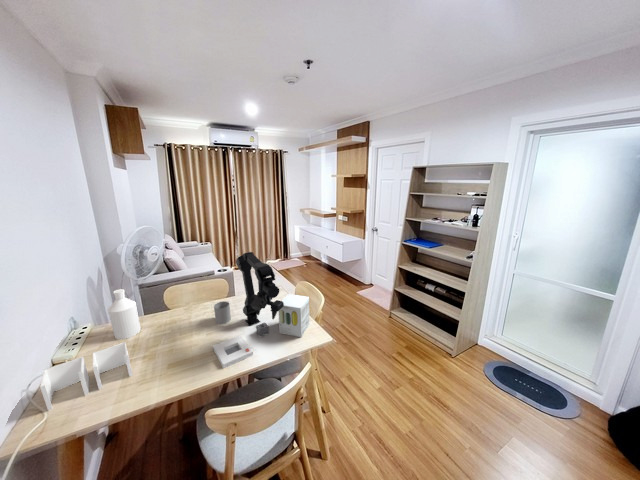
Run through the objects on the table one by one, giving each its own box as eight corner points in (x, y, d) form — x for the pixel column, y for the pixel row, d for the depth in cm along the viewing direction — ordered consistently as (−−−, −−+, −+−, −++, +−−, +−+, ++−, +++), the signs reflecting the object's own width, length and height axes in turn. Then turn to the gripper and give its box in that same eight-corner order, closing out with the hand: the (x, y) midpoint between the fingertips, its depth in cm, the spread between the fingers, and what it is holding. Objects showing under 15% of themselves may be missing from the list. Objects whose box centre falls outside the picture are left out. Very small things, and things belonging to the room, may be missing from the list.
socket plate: (213, 349, 124) (212, 344, 123) (241, 338, 132) (240, 334, 131) (223, 368, 111) (222, 363, 111) (253, 355, 120) (252, 350, 119)
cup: (233, 318, 150) (232, 303, 147) (222, 325, 143) (220, 310, 140) (224, 314, 154) (223, 300, 151) (212, 321, 147) (210, 305, 145)
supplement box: (278, 333, 136) (277, 304, 132) (288, 320, 148) (287, 293, 144) (301, 337, 132) (300, 308, 128) (309, 324, 144) (309, 296, 140)
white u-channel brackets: (130, 362, 115) (125, 341, 113) (132, 376, 107) (127, 354, 105) (52, 392, 99) (44, 369, 97) (48, 411, 91) (40, 387, 89)
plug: (256, 333, 136) (256, 324, 135) (265, 329, 139) (264, 320, 138) (260, 337, 133) (259, 327, 132) (269, 333, 136) (268, 324, 135)
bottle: (141, 324, 144) (133, 284, 138) (141, 334, 135) (132, 292, 128) (115, 331, 138) (105, 289, 132) (113, 342, 129) (102, 298, 122)
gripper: (238, 292, 121) (240, 320, 125) (271, 301, 114) (272, 330, 118) (253, 283, 131) (254, 309, 135) (283, 290, 124) (284, 318, 128)
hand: (265, 317), depth 129 cm, fingers open, 9 cm apart
